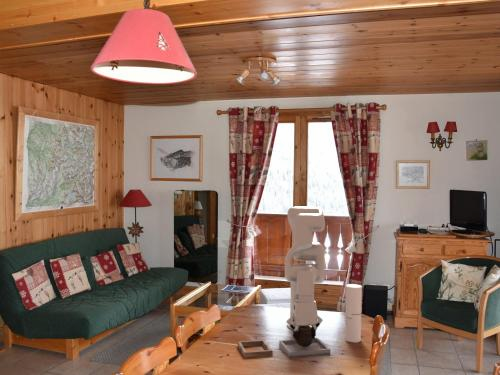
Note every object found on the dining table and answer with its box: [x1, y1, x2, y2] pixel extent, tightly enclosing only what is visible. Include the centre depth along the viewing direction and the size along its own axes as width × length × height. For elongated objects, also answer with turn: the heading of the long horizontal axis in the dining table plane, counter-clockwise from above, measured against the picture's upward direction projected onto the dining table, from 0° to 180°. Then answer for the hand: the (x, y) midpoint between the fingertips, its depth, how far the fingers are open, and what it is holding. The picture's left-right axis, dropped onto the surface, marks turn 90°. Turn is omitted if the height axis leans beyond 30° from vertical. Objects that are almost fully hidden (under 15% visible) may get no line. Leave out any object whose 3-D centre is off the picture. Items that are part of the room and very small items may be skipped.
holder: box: [237, 339, 273, 359], centre depth 193 cm, size 13×12×2 cm
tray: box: [278, 337, 331, 359], centre depth 194 cm, size 14×18×2 cm
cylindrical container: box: [344, 283, 363, 343], centre depth 208 cm, size 7×7×25 cm
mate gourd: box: [296, 325, 313, 347], centre depth 194 cm, size 7×8×10 cm
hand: (304, 338), depth 194 cm, fingers closed on mate gourd, 7 cm apart
